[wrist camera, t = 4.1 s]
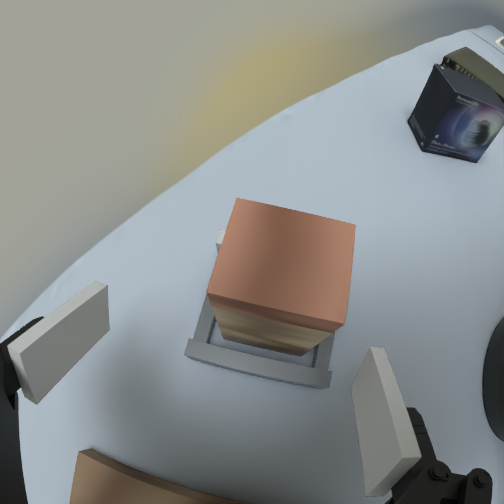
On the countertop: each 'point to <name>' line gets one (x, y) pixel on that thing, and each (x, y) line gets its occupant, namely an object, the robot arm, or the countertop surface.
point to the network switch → (475, 69)
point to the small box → (456, 115)
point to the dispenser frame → (254, 364)
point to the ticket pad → (281, 277)
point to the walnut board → (128, 485)
